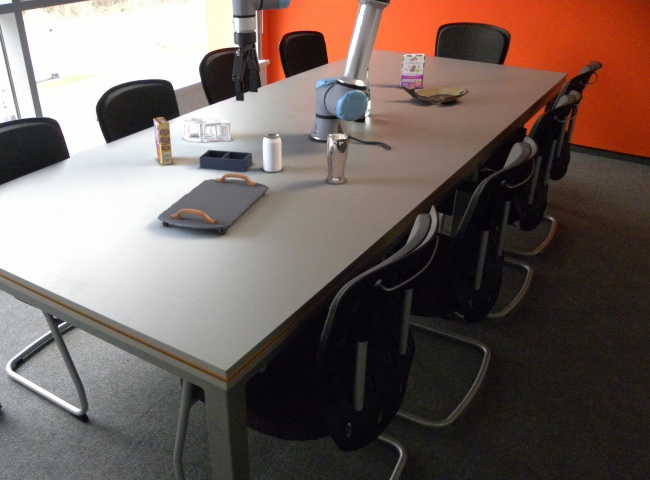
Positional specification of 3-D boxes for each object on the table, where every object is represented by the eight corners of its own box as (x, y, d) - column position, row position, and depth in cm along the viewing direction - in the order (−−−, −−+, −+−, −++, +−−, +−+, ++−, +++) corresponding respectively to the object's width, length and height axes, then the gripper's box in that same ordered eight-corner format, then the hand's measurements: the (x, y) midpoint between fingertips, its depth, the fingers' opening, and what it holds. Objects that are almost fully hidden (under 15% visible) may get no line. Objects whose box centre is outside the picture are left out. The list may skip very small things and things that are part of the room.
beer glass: (348, 178, 206) (350, 133, 198) (344, 185, 200) (346, 140, 192) (328, 176, 208) (329, 132, 200) (323, 183, 202) (324, 138, 195)
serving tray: (224, 240, 167) (223, 219, 164) (151, 230, 175) (148, 209, 171) (273, 191, 197) (273, 173, 194) (209, 184, 205) (208, 166, 202)
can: (280, 173, 212) (279, 138, 206) (261, 172, 214) (260, 138, 208) (283, 166, 218) (282, 133, 212) (265, 166, 219) (264, 133, 213)
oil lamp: (461, 109, 278) (463, 91, 274) (396, 103, 291) (398, 87, 287) (471, 98, 295) (473, 81, 291) (410, 93, 307) (411, 77, 303)
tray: (252, 163, 222) (251, 152, 220) (244, 171, 215) (243, 160, 213) (209, 160, 227) (208, 149, 225) (200, 168, 220) (199, 157, 218)
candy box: (173, 163, 225) (169, 122, 217) (162, 165, 224) (157, 123, 216) (168, 157, 232) (163, 116, 224) (157, 158, 231) (152, 118, 223)
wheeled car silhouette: (236, 136, 252) (235, 119, 248) (224, 144, 244) (223, 126, 240) (194, 132, 260) (192, 115, 256) (181, 140, 251) (179, 122, 247)
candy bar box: (421, 86, 321) (425, 53, 312) (422, 88, 316) (425, 54, 308) (399, 86, 322) (402, 53, 314) (400, 88, 318) (403, 55, 310)
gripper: (247, 25, 215) (249, 88, 226) (219, 36, 195) (223, 103, 206) (267, 26, 213) (268, 89, 223) (241, 36, 193) (244, 105, 203)
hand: (247, 96), depth 215 cm, fingers open, 13 cm apart
